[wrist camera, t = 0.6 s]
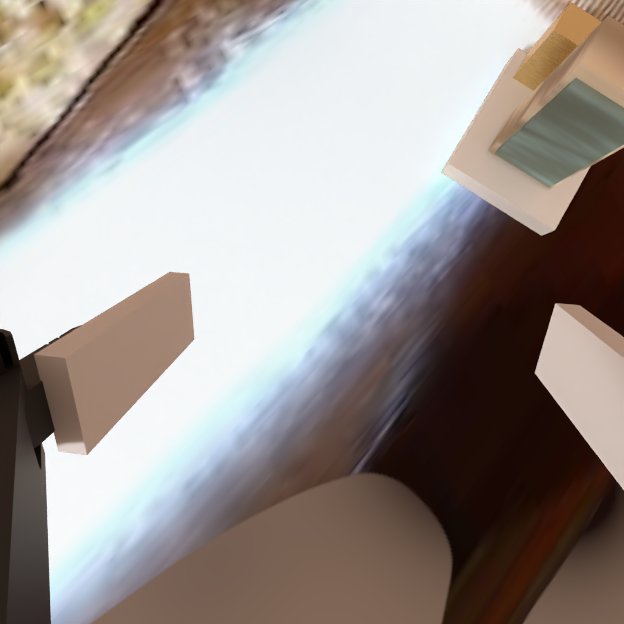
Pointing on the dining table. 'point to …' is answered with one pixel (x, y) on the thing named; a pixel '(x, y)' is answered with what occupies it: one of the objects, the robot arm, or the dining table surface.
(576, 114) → the wooden tall block
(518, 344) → the dining table surface
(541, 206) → the base
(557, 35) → the contact block
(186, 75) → the dining table surface
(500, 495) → the dining table surface
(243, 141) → the dining table surface
